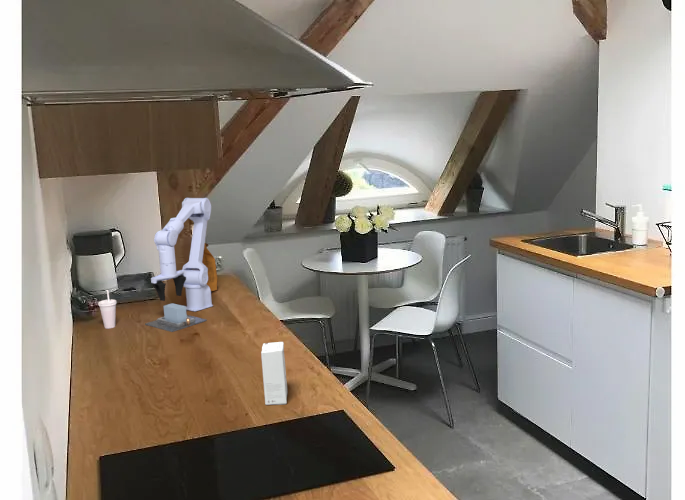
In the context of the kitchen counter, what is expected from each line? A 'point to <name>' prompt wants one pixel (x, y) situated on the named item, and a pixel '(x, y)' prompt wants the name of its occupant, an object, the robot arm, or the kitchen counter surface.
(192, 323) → the pocket plate
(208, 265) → the coffee package
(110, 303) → the smoothie
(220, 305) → the kitchen counter surface
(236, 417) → the kitchen counter surface
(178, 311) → the light blue block
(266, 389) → the skincare box
